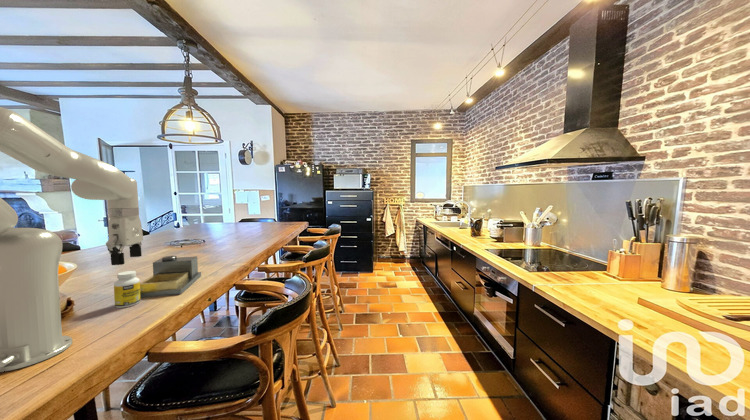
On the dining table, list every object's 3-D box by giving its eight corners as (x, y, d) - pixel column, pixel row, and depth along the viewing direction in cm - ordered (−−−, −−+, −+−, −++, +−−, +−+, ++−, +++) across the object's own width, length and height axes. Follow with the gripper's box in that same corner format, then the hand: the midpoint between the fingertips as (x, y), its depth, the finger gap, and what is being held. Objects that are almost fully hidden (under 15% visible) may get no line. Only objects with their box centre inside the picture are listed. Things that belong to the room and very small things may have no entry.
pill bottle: (116, 310, 82) (114, 277, 81) (113, 304, 86) (111, 273, 85) (142, 303, 87) (141, 272, 87) (138, 298, 91) (137, 268, 90)
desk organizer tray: (181, 294, 96) (180, 266, 95) (130, 299, 91) (128, 270, 90) (201, 276, 117) (200, 253, 116) (160, 279, 112) (159, 255, 111)
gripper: (121, 215, 78) (124, 267, 79) (151, 210, 94) (153, 253, 96) (90, 216, 75) (94, 269, 77) (126, 210, 92) (129, 254, 93)
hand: (127, 260), depth 86 cm, fingers open, 9 cm apart
